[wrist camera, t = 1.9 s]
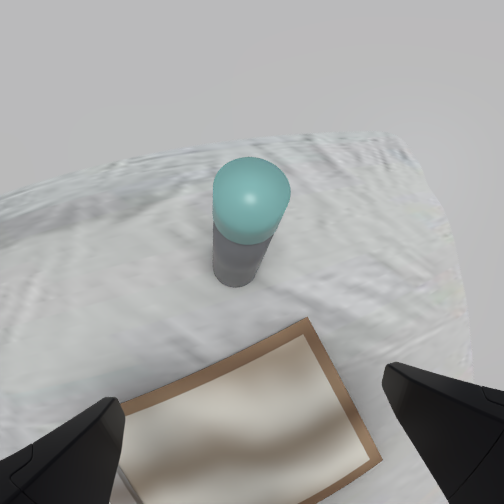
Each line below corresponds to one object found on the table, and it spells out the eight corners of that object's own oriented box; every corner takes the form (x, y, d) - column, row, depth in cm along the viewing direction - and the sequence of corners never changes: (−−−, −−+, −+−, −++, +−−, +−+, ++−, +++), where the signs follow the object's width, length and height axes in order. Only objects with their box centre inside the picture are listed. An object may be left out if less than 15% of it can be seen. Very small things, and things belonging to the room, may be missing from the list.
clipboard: (380, 459, 19) (390, 463, 18) (162, 558, 14) (160, 568, 13) (306, 317, 23) (312, 313, 22) (72, 420, 18) (63, 423, 16)
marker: (265, 276, 24) (304, 205, 14) (224, 295, 23) (234, 234, 13) (245, 238, 25) (267, 149, 15) (204, 255, 24) (200, 171, 14)
